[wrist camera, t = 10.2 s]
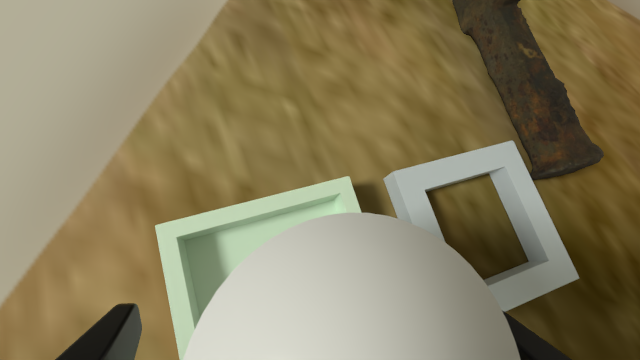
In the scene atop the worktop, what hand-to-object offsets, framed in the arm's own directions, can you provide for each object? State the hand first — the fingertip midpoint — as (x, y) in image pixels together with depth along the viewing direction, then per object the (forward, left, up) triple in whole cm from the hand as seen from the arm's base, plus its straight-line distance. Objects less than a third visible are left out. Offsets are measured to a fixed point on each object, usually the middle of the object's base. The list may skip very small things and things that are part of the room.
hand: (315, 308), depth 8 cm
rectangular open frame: (0, -13, -9) cm, 16 cm away
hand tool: (+11, -20, -10) cm, 25 cm away
